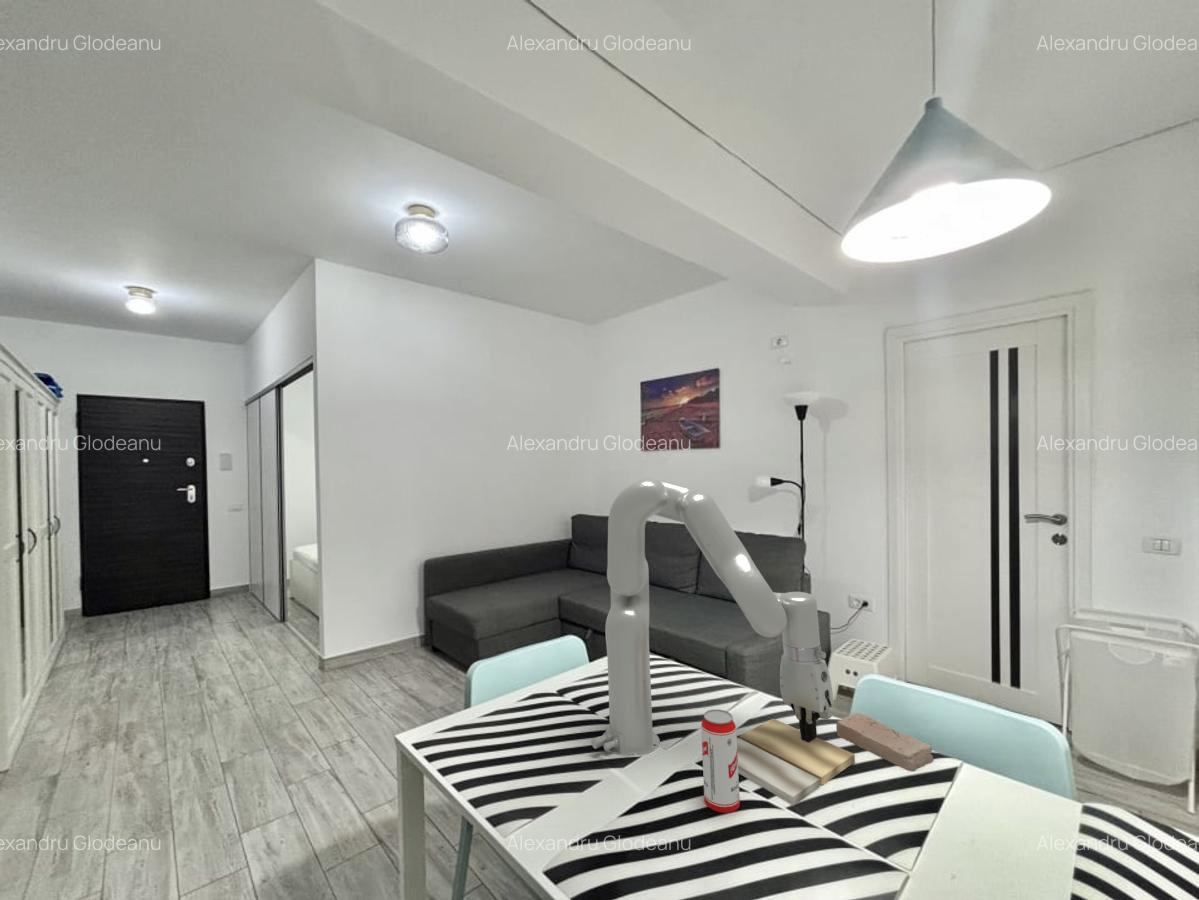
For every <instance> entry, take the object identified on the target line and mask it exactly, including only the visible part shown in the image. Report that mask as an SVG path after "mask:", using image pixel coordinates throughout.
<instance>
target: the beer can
mask: <svg viewBox="0 0 1199 900" xmlns="http://www.w3.org/2000/svg"><path fill="white" fill-rule="evenodd" d="M700 725H701V747H702V748H701V750H702V751H701V752H702V770H703V775H702V777H703V795H704V796H703V799H704V800H703V801H704V803H705V805H706V806H707V807H708V808H709V809H711V810H713V811H715V812H718V813H723V814H728V813H732V812H735V811H737V810H738V809H739V808H740V805H741V799H740V798H741V797H740V796H741V795H740V782H739V781H740V780H739V775H740V774H739V773H738V754H737V727H736V724H735V721H734V720H733V715H732V714H731V713H730V712H728V711H726V710H723V709H719V708H717V709H709V710H707V711H705V712H704V713H703V718H702V721H701V723H700Z"/></svg>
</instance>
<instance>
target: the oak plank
mask: <svg viewBox="0 0 1199 900" xmlns="http://www.w3.org/2000/svg"><path fill="white" fill-rule="evenodd" d="M739 738H740V739H742V740H744V741H746V742H748V743H750V744H752V745H754V746H755V747H757V748H759V749H761V750H763V751H765V752H767V753H769V754H771V755H773V756H775V757H777V758H779V759H781V760H783V761H785V762H787V763H789V764H791V765H793V766H795V767H796V768H798V769H800V770H802V771H804V772H806V773H808V774H810V775H812V776H814V777H816V778H818V779H819V781H820V785H821V786H824V785H825V784H826V783H828V782H829V781H831V780H832V779H833V778H834V777H836V776H838V775H839V774H840V773H841V772H843V771H844V770H846V769H847V768H849V767H850V766H851V765H853V764H854V763H855V762H856V758H855V757H856V756H855V753H853V752H850V751H849V750H846V749H844V748H841V747H839V746H838V745H835V744H832V743H830V742H828V741H825V740H823V739H822V738H819V737H817V736H816V738H815V739H814V740H812V741H810V742H809V743H808V742H806V741H805V740H802V739H801V733H800V728H799V729H798V728H796V727H793V726H791V725H789V724H787V723H785V722H784V721H783V722H782V721H780V720H777V719H775V718H771V719H769V720H767V721H766V722H763V723H761V724H760V725H758V726H755V727H754V728H752V729H750V730H748V731H745V732H744V733H743V734H741V735H739Z"/></svg>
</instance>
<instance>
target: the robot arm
mask: <svg viewBox="0 0 1199 900" xmlns="http://www.w3.org/2000/svg"><path fill="white" fill-rule="evenodd" d="M652 516H657V517H661V518H664V519H665V518H666V519H667V520H671V521H672V520H673V521H676V522H680V523H683V524H684V526H685V528H686V529H687V531H688V532H689V534H690V536H691V537H692V539H693V540H694V541H695V543H696V545H697V546H698V548H699V549H700V550H701V552H702V554H703V556H704V558H705V559H706V560H707V562H708V563H709V566H711V568H712V570H713V571H714V573H715V575H716V576H717V577H718V578H719V579H720V580H721V582H722V583H723V584H724V586H725V587H726V588H727V590H728V591H729V593H730V594H731V596H732V598H733V600H734V601H735V602H736V603H737V605H738V606H739V608H740V610H741V611H742V613H743V615H744V616H745V618H746V619H747V621H748V622H749V624H750V626H751V627H752V629H753V630H754V631H755V633H757V634H759V636H762V637H765V638H776V637H778V636H780V635H782V647H783V654H781V659H780V666H779V667H780V669H779V683H780V684H779V687H780V694H781V697H782V701H783V703H784V704H785V705H787V706H789V707H790V708H791V709H792V711H793V712H794V714H795V717H796V719H797V720H798V723H799V730H800V733H801V739H802V740H805V741H806V742H808V743H809V742H810V741H812V740H814V739H815V738H816V737H817V735H818V731H817V721H818V720H819V719H822V720H830V719H831V718H832V717H833V715H832V711H831V708H833V706H834V705H835V704H834V703H835V702H834V692H833V687H832V686H833V685H832V681H831V676H830V671H829V669H828V666H827V662H826V660H825V659H826V658H827V654H826V652H825V651H823V650H822V646H821V641H820V640H821V639H820V626H819V615H818V603H817V599H816V598H815V596H814V595H812V594H811V593H809V592H805V591H789V592H774V591H773V590H772V589H771V587H770V586H769V584H768V582H767V581H766V580H765V578H764V576H763V575H762V574H761V572H760V570H759V569H758V568H757V566H756V564H755V563H754V560H753V559H752V558H751V555H750V554H749V552H748V551H747V548H746V547H745V545H744V544H743V543H742V541H741V540H740V538H739V537H738V535H737V534H736V532H735V531H734V530H733V528H732V526H731V525H730V523H729V521H728V520H727V519H726V517H725V516H724V513H723V512H722V510H721V509H720V508H719V506H718V504H717V503H716V502H715V500H714V499H713V498H712V497H711V495H709V494H708V493H706V492H704V491H702V490H701V491H700V490H696V489H691V488H687V487H683V486H679V485H676V484H673V483H669V482H665V481H661V480H658V479H655V478H642V479H639V480H637V481H636V482H633V483H631V484H630V485H629V486H627V487H626V488H624V489H623V490H622V491H621V492H620V493H619V494H618V495H617V496H616V498H615V499H614V501H613V503H612V504H611V507H610V510H609V513H608V519H607V569H606V578H607V582H608V586H610V609H609V611H608V613H607V617H606V620H605V629H604V630H605V631H604V632H605V643H606V655H607V679H608V684H607V685H608V709H609V710H608V711H609V725H607V726H605V732H603V734H602V735H600V736H597V737H594V738H592V739H591V746H592V747H593V748H594V749H595V750H596V749H598V748H601V747H603V749H604V751H605V752H606V753H613V754H614V755H616V756H620V757H626V758H636V757H637V758H638V757H642V756H646V755H650V754H652V753H653V752H655V751H656V750H657V749H658V747H660V744H661V741H660V738H659V736H658V735H657V734H656V733H655V732H654V730H653V713H652V710H653V707H652V706H653V705H652V687H651V686H652V682H651V680H652V679H651V678H652V677H651V663H650V662H651V661H650V660H651V659H650V658H651V657H650V581H649V579H650V576H649V570H650V569H649V563H648V561H647V559H646V552H645V551H646V550H645V549H646V548H645V547H646V546H645V545H646V544H645V543H646V541H645V540H646V532H645V531H646V530H645V529H646V524H647V521H648V520H649V519H650V517H652Z"/></svg>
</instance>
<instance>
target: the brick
mask: <svg viewBox="0 0 1199 900" xmlns="http://www.w3.org/2000/svg"><path fill="white" fill-rule="evenodd" d="M836 733H837V736H838V737H839V738H841V739H843V740H845V741H847V742H849V743H850V744H853V745H855V746H857V747H858V748H861V749H863V750H865V751H867V752H869V753H871V754H873V755H875V756H877V757H880V758H882V759H884V760H885V761H887V762H889V763H891V764H894V765H896V766H897V767H900V768H902V769H903V770H906V771H908V772H913V771H917V769H920V768H921V767H924V766H926V765H928V764H929V763H930V764H931V763H932V762H933V761H934V755H932V753H933V749H932V746H931V745H930V744H928V743H926V742H922V741H921V740H919V739H917V738H915V737H914V736H909V735H908V734H905V733H902V732H900V731H898V732H897V731H896V730H894V729H892V728H891V727H889V725H885V724H882V723H880V722H879V721H877V720H876V719H874V718H873V717H871V716H869V715H866V714H864V713H863V712H855V713H852V714H850V715H848V716H845V717H844V718H843V719H841V720H837V721H836Z"/></svg>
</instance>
